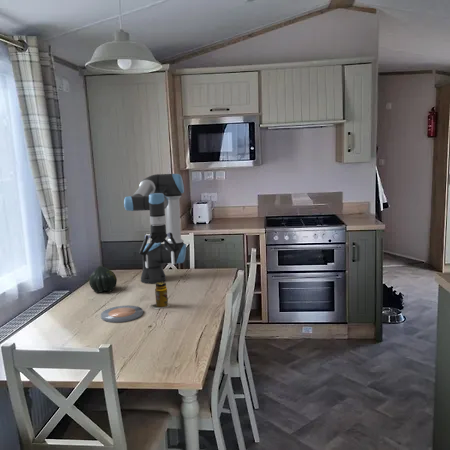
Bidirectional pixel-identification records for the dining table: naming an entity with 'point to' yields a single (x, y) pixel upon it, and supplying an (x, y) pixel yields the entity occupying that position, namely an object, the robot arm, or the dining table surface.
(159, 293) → the condiment
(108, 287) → the squash
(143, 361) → the dining table surface
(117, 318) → the ring stand
